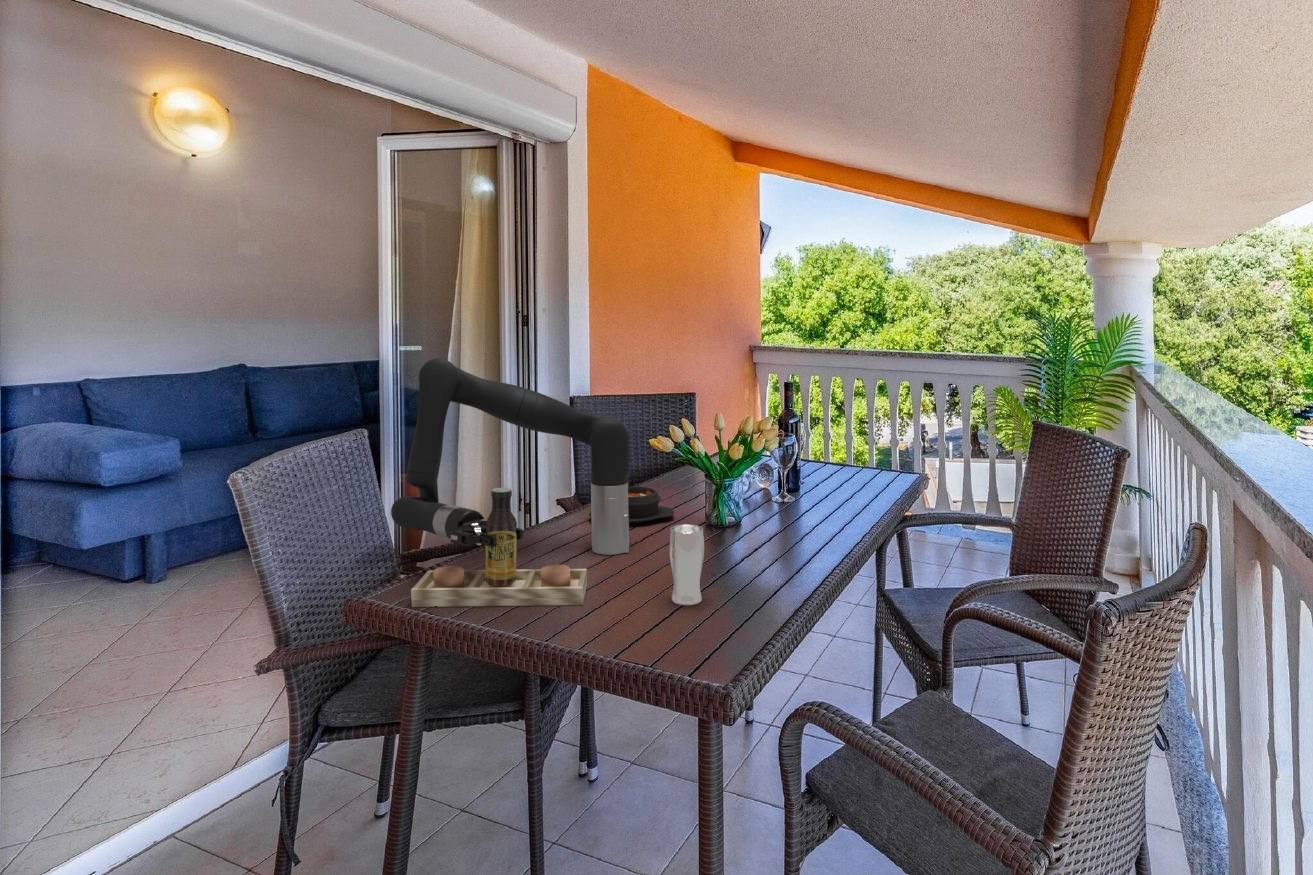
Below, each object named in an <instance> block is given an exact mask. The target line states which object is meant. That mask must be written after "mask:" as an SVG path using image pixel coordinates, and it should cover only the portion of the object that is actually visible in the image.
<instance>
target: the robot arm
mask: <svg viewBox="0 0 1313 875" xmlns="http://www.w3.org/2000/svg"><path fill="white" fill-rule="evenodd" d="M418 387H419V388H418V391H419V392H418V409H417V419H416V424H415V429H414V434H413V439H412V444H411V448H410V453H409V456H408V464H407V469H406V474H405V482H406V483H407V484H408V485H410V486H412V487H415V488H417V489H418V492H419V496H410V495H409V496H402V497H399V498H398V499H396V500H395V501H394V503H393V504H392V506H391V509H390V515H391V518H392V520H393V523H395V525H398V526H399V527H401V528H405V529H411V530H417V531H424V532H428V533H431V534H433V535H436V536H440V537H441V538H443V539H446V540H449V541H450V543H452V544H456V545H460V546H463V547H464V546H465V547H470V548H471V547H473V546H474V545H477V546H485V547H486V546H490V547H496V537H495V536H493V535H490V534H486V529H487V528H486V527H487V525H486V521H487V519H488V518H487V519H486V518H485V517H484V516H483V515H482V513H481V512H479V510H478V511H477V510H475V509H470V508H466V507H464V506H463V507H462V506H459V505H452V504H446V503H442V502H440V501H439V491H438V478H439V474H440V473H439V472H440V466H441V461H442V456H443V455H442V454H443V444H444V431H445V423H446V419H447V414H448V411H449V407H450V404H451V403H457V404H461V405H463V406H464V405H465V406H468V407H471V408H473V409H474V408H475V409H477V410H480V411H482V412H484V413H486V414H488V415H490V416H492V417H494V418H496V419H499V420H501V421H503V422H507V423H508V424H510V425H514V426H518V427H521V428H522V429H525V430H531V431H534V432H537V433H542V434H550V435H558V436H563V437H564V436H565V437H568V438H570V439H574V440H577V441H578V442H580V443H583V444H585V445H587V446H590V458H591V460H590V462H591V463H590V464H591V466H590V467H591V468H590V506H591V508H590V509H591V510H590V512H591V517H590V518H591V551H592V552H593V553H595V554H598V555H603V556H604V555H606V556H607V555H608V556H609V555H610V556H612V555H619V554H625V553H626V554H628V553H629V552H630V551H629V550H630V529H629V527H630V524H629V510H628V487H629V473H630V436H629V435H630V434H629V432H628V429H627V427H626V426H625V425H624V424H623V423H622V422H621V421H620V420H618V419H617V418H615V417H612V416H608V415H607V416H606V415H602V414H598V413H593V412H589V411H585V410H581V409H579V408H575V407H573V406H571V405H569V404H566V403H564V402H562V401H560V400H557V399H555V398H553V397H551V396H548V395H546V394H544V393H540V392H538V391H535V390H532V389H530V388H526V387H522V386H519V385H514V384H512V383H511V384H510V383H508V382H501V381H494V380H490V379H489V380H488V379H485V378H482V377H479V376H477V375H474V374H472V373H470V372H468V371H465V370H463V369H460V368H458V367H456V365H455V364H453V363H452V362H451V361H449V360H447V359H445V358H441V357H436V358H432V359H429V360H428V361H426V362H425V363H424V364H423V365H421V368H420V370H419V372H418ZM517 525H518V524H517V521H516V534H517V535H516V539H517V540H523V538H524V537H523V536H524V533H523V529H522V528H519V527H518V526H517Z"/></svg>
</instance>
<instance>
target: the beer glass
mask: <svg viewBox="0 0 1313 875" xmlns="http://www.w3.org/2000/svg"><path fill="white" fill-rule="evenodd" d="M669 533H670V534H669V560H670V566H671V572H672V578H673V588H672V589H673V590H672V594H671V602H673V603H674V604H676V605H679V606H695V605H698V604H700V603H701V602H702V600H703V599H702V594H701V584H700V583H701V577H702V576H701V574H702V570H703V564H704V557H705V538H704V528H703V527H702V526H700V525H696V524H677V525H674V526H672V527H670V532H669Z"/></svg>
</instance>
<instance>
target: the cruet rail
mask: <svg viewBox="0 0 1313 875" xmlns="http://www.w3.org/2000/svg"><path fill="white" fill-rule="evenodd" d="M587 587H588V570H587V568H571V567H570V566H569V565H565V564H550V565H546V566H543V567H541V569H540V568H539V569H537V568H535V569H534V568H533V569H532V568H531V569H523V568H522V569H516V579H515V582H514V583H513V584H511V585H508V586H502V587H495V586H491V585H488V584H487V583H486V575H485V569H464V567H462V566H460V565H445V566H444V565H443V566H441V567H437V568H435V569H434V570H431V569H430V570H427V571H426V573H425V574H424V575H423V576H422V577H421V578H420V579H419V580H418V582H417V583H416V584H415V585H414V586H413V587H411V589H410V595H411V596H410V598H411V607H412V608H420V607H421V608H425V607H427V608H428V607H430V608H431V607H432V608H433V607H435V606H437V608H439V607H441V608H442V607H443V608H444V607H514V606H515V607H518V606H522V607H525V606H528V607H529V606H584V600H585V597H586V590H587ZM435 608H436V607H435Z"/></svg>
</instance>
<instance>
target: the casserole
mask: <svg viewBox="0 0 1313 875" xmlns="http://www.w3.org/2000/svg"><path fill="white" fill-rule="evenodd" d="M660 501H661V496H659V493H658V491H657V490H656V489H654V488H650V487H645V486H628V510H629V525H637V524H638V525H639V524H643V523H644V522H645V523H648V522H651V521H653V520H657V519H662V518H663V519H664V518H670V517H672V516H673V515H674V514H675V511H674V509H672V508H670V507H667V506H662V505H661V506H660V505H659V503H660ZM588 516H589V517H590V518H591V511H590V512H589V513H588ZM645 523H644V524H645Z"/></svg>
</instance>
